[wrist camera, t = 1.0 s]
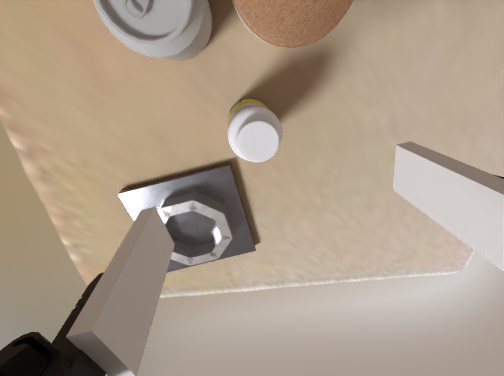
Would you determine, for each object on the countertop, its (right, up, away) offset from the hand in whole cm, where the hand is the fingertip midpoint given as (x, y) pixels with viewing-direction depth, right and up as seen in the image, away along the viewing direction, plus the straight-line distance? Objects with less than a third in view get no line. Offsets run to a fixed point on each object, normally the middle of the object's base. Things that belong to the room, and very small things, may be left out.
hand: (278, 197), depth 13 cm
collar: (-10, -5, +24) cm, 27 cm away
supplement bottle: (-2, +9, +18) cm, 20 cm away
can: (-9, +18, +12) cm, 24 cm away
